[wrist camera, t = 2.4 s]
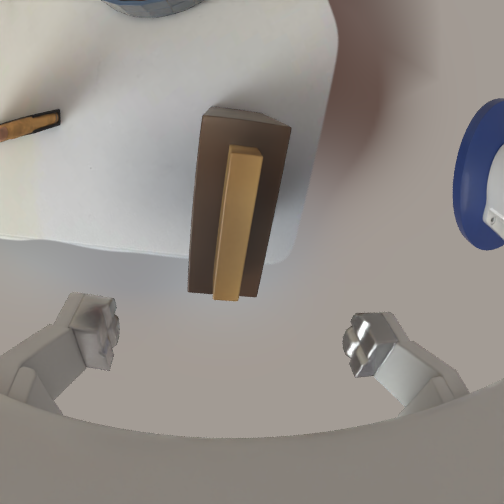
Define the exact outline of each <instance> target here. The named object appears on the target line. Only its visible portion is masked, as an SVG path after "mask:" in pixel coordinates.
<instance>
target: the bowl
mask: <svg viewBox="0 0 504 504" xmlns="http://www.w3.org/2000/svg"><path fill="white" fill-rule="evenodd" d="M101 1H103V2H104V3H106V4H107V5H109V6H110V7H112V8H113V9H115V10H116V11H119V12H121V13H124V14H126V15H130V16H134V17H140V18H154V17H162V16H168V15H172V14H176V13H179V12H182V11H184V10H187V9H189V8H191V7H193V6H195V5H197V4H199V3H200V2H202V1H203V0H144V1H120V0H101Z"/></svg>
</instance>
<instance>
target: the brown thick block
mask: <svg viewBox="0 0 504 504" xmlns="http://www.w3.org/2000/svg"><path fill="white" fill-rule="evenodd" d="M290 134H291V127H290V126H288V125H286V124H283V123H281V122H279V121H277V120H275V119H273V118H271V117H269V116H267V115H265V114H263V113H259V112H252V111H245V110H238V109H230V108H221V107H210V108H209V109H208V111H207V112H206V113H205V114H204V115H203V116H202V123H201V130H200V138H199V147H198V156H197V165H196V174H195V185H194V195H193V207H192V220H191V234H190V249H189V268H188V292H192V293H204V294H213V272H214V263H215V254H216V245H217V236H218V228H219V219H220V211H221V203H222V196H223V188H224V181H225V173H226V166H227V159H228V152H229V146H230V145H231V144H232V145H240V146H248V147H255V148H258V150H259V151H260V153H261V154H262V156H263V162H262V168H261V173H260V179H259V184H258V190H257V196H256V201H255V207H254V213H253V218H252V224H251V230H250V235H249V241H248V247H247V253H246V258H245V264H244V270H243V276H242V282H241V287H240V293H239V296H245V297H257V293H258V288H259V284H260V279H261V274H262V270H263V265H264V260H265V256H266V251H267V246H268V242H269V237H270V232H271V227H272V222H273V218H274V213H275V208H276V203H277V198H278V193H279V188H280V184H281V179H282V174H283V169H284V164H285V159H286V154H287V149H288V144H289V139H290Z"/></svg>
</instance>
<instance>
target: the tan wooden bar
mask: <svg viewBox="0 0 504 504" xmlns="http://www.w3.org/2000/svg"><path fill="white" fill-rule="evenodd" d="M262 162H263V156H262V154H261V153H260V151H259V150H258V148H255V147H248V146H240V145H232V144H231V145H230V146H229V152H228V159H227V166H226V173H225V181H224V188H223V196H222V203H221V211H220V219H219V228H218V236H217V245H216V254H215V263H214V272H213V299H214V300H225V301H238V298H239V293H240V287H241V282H242V276H243V270H244V264H245V258H246V253H247V247H248V241H249V235H250V230H251V224H252V218H253V213H254V207H255V201H256V196H257V190H258V184H259V179H260V173H261V168H262Z"/></svg>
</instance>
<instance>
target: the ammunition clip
mask: <svg viewBox="0 0 504 504" xmlns="http://www.w3.org/2000/svg"><path fill="white" fill-rule="evenodd" d="M59 125H60V110H59V109H57V110H52V111H47V112H43V113H38V114H34V115H30V116H26V117H22V118H19V119H15V120H12V121H8V122H5V123H2V124H0V142H3V141H5V140H8V139H14V138H18V137H20V136H24V135H29V134H33V133H37V132H40V131H43V130H46V129H49V128H52V127H55V126H59Z"/></svg>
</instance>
